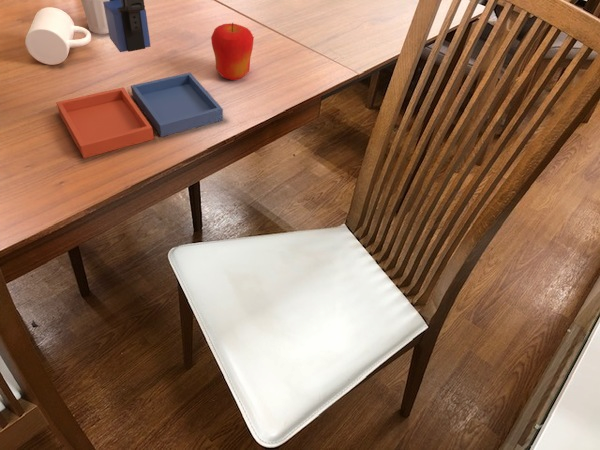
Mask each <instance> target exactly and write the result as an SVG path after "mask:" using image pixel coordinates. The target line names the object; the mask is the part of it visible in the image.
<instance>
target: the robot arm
mask: <svg viewBox="0 0 600 450" xmlns="http://www.w3.org/2000/svg"><path fill="white" fill-rule="evenodd" d="M109 1H113V0H109ZM121 4H122V7H119V8H117V9H118V11H119V13H121V16H122V22H123V28H124V34H125V40H126V46H127V50H128V51H127V52H129V53H130V52H134V51H139V50H146V48H145V43H144V36H143V28H142V21H141V14H140V11H142V10H146V8H145V7H146V6H145V5H146V4H145V0H121Z"/></svg>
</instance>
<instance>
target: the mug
mask: <svg viewBox="0 0 600 450" xmlns="http://www.w3.org/2000/svg"><path fill="white" fill-rule="evenodd" d="M75 34H83V35H85V37H83V38H78V39H77V38H76V39H74V36H75ZM24 42H25V48H26V50H27V52H28V53H29V55H30V56H31V57H32V58H33V59H34V60H36V61H38V62H39V63H42V64H44V65H48V66H52V65H53V66H55V65H60V64H62V63H63V62H65V61H66V60H67V58H68V55H69V52H70V50H71V48H81V47H85V46H87V45H89V44H90V43H91V42H92V34H91V31H90V30H89V29H87V28H85V27H83V26H79V25H75V23H74V21H73V19H72V17H70V15H69V14H68V13H66V12H65V11H64V10H62V9H60V8H57V7H52V6H49V7H42V8H41V9H39V10H38V11H37V12H36V14H35V16H34V18H33V21H32V22H31V25H30V28H29V29H28V32H27V34H26V36H25V41H24Z"/></svg>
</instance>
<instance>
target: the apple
mask: <svg viewBox="0 0 600 450" xmlns="http://www.w3.org/2000/svg"><path fill="white" fill-rule="evenodd" d="M210 40H211V47H212V51H213V54H214V59H215V60H214V61H215V69H216V70H217V73H219V74H220V75H221V77H222V78H224V79H226V80H230V81H238V80H241V79H242V78H243V77H245V76H246V75H247V74H248V73H249V72H250V65H251V57H252V52H253V48H254V40H255V39H254V36H253V33H252V32H251V30H250V29H249V28H248V27H246V26H243V25H241V24H237V23H234V22H231V23H223V24H221V25H218V26H217V27H215V28H214V29H213V32H212V35H211V37H210Z"/></svg>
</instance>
